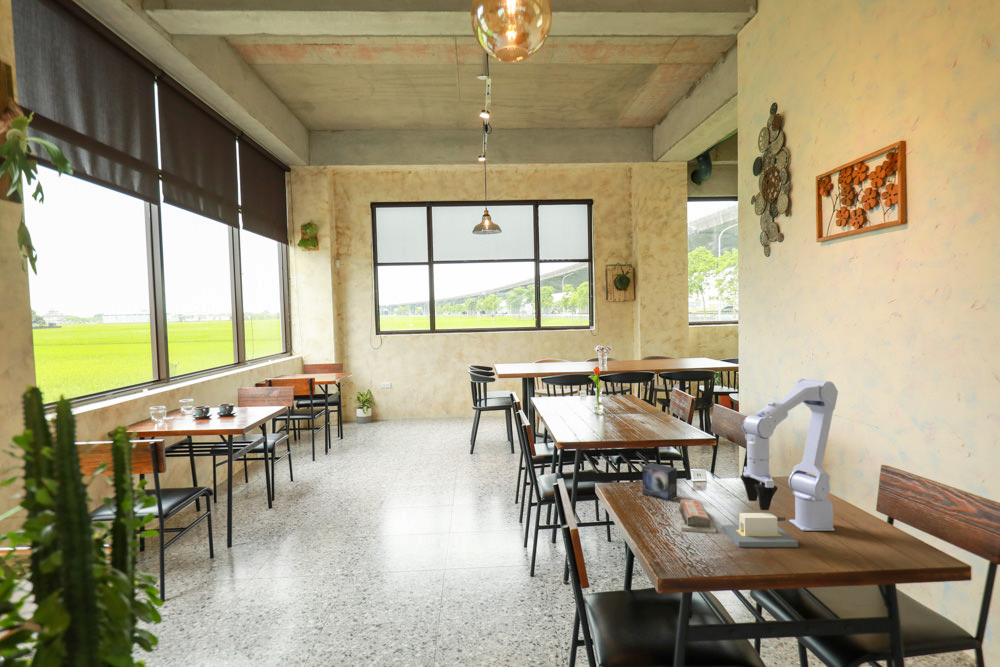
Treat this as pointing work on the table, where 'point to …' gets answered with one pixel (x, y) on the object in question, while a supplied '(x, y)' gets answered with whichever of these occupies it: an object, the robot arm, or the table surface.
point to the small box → (660, 481)
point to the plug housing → (759, 523)
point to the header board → (759, 538)
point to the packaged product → (693, 517)
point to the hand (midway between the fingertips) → (758, 505)
